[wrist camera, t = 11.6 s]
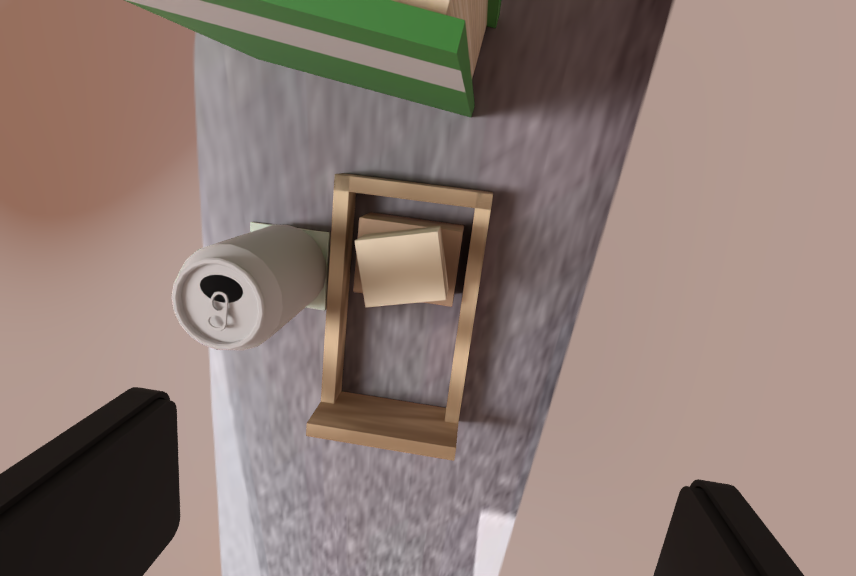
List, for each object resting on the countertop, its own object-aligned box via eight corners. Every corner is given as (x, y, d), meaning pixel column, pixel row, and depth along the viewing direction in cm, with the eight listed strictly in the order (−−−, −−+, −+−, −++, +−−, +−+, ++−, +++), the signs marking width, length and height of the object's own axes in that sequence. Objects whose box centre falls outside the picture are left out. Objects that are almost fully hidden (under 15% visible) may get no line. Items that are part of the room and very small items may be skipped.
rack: (343, 173, 39) (319, 175, 34) (492, 192, 39) (494, 198, 33) (328, 400, 45) (306, 435, 40) (457, 421, 44) (454, 460, 39)
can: (333, 230, 41) (275, 259, 29) (325, 312, 43) (268, 370, 31) (249, 216, 41) (159, 238, 29) (245, 298, 43) (159, 349, 32)
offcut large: (370, 211, 40) (359, 217, 37) (464, 224, 40) (462, 232, 36) (364, 279, 42) (353, 291, 38) (454, 292, 42) (451, 306, 38)
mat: (252, 221, 41) (250, 222, 41) (330, 232, 41) (329, 233, 41) (250, 298, 43) (249, 299, 43) (325, 309, 43) (324, 310, 43)
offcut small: (364, 234, 37) (354, 240, 34) (440, 225, 36) (437, 231, 33) (374, 295, 38) (365, 307, 35) (448, 288, 37) (445, 300, 34)
